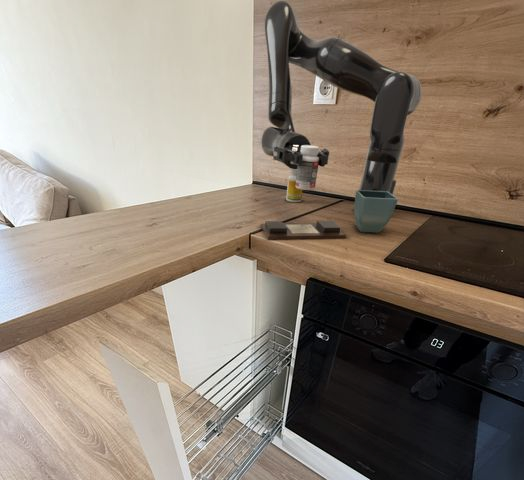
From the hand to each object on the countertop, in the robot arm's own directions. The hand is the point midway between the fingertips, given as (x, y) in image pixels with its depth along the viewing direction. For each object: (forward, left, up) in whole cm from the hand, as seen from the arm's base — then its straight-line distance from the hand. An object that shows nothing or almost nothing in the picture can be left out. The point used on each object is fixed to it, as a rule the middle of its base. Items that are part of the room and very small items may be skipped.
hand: (312, 160), depth 67 cm
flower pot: (-19, -3, -16) cm, 26 cm away
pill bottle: (0, -3, -6) cm, 7 cm away
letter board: (0, -2, -16) cm, 16 cm away
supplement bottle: (-7, -35, -16) cm, 39 cm away
